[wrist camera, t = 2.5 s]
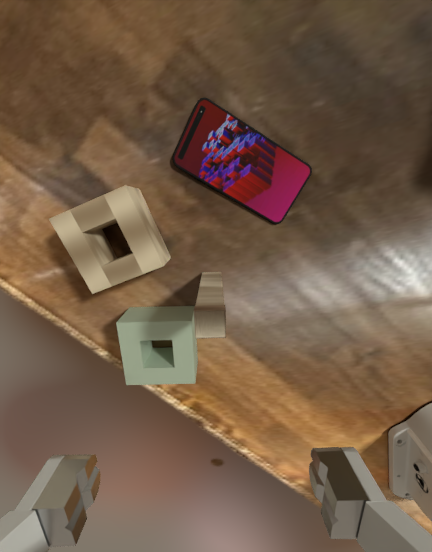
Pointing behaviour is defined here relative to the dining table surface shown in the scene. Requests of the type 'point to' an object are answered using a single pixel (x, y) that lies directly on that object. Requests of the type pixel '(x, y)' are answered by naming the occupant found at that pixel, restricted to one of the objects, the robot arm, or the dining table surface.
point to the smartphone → (240, 162)
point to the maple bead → (95, 246)
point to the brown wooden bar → (210, 307)
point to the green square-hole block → (158, 361)
